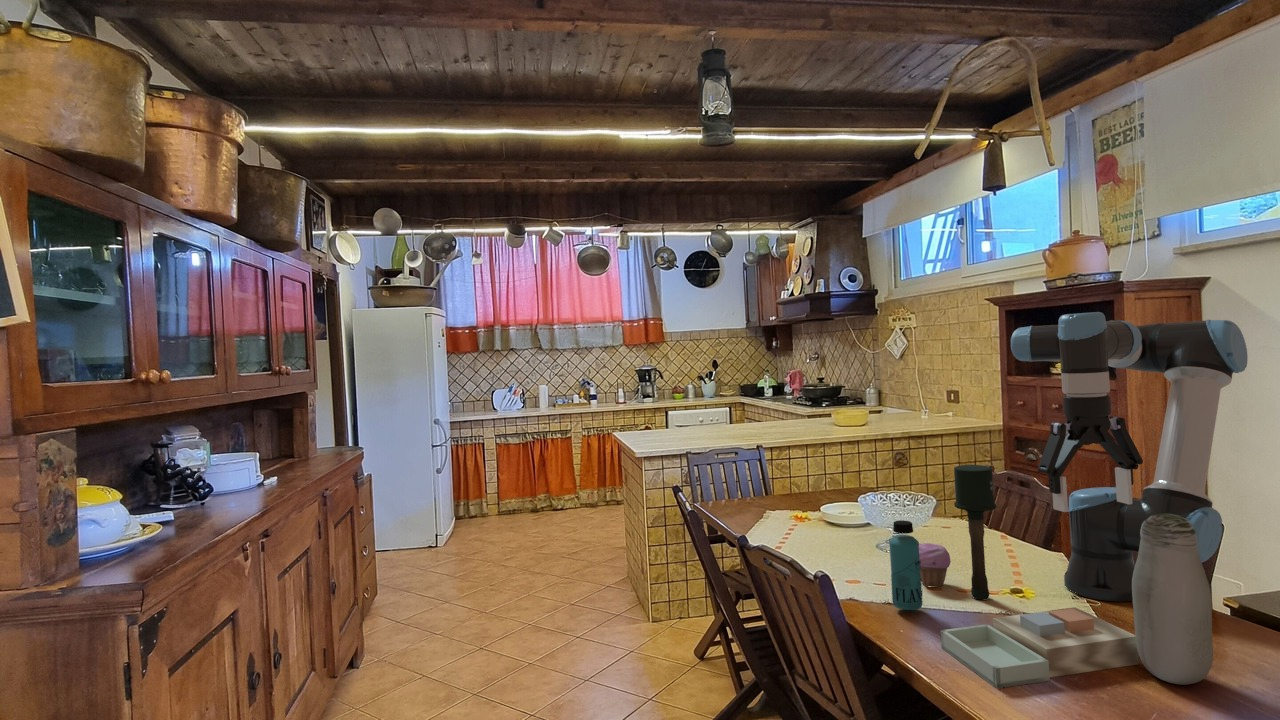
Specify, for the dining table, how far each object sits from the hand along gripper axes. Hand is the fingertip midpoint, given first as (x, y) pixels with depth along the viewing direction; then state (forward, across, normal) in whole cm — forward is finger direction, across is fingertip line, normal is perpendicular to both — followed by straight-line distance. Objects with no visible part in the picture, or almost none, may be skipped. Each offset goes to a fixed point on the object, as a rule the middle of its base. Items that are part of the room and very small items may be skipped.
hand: (1092, 506), depth 126 cm
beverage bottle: (+27, +25, -25) cm, 44 cm away
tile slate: (+21, +13, +1) cm, 25 cm away
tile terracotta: (+22, +7, +1) cm, 23 cm away
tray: (+26, +23, +1) cm, 35 cm away
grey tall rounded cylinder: (+27, -1, +14) cm, 30 cm away
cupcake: (+27, +11, -38) cm, 48 cm away
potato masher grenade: (+27, +6, -27) cm, 39 cm away
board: (+26, +9, +1) cm, 28 cm away
